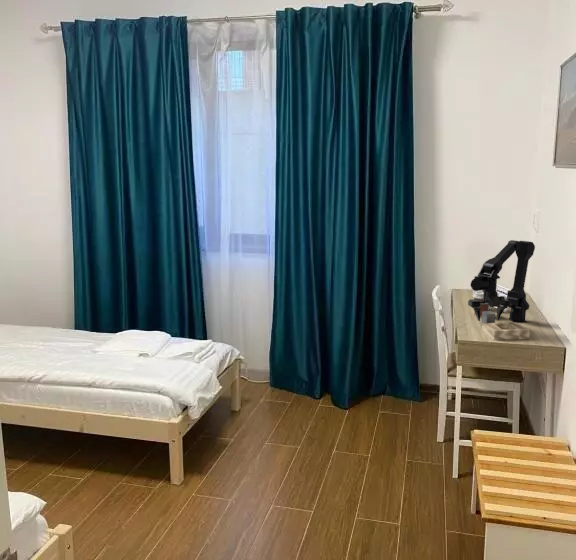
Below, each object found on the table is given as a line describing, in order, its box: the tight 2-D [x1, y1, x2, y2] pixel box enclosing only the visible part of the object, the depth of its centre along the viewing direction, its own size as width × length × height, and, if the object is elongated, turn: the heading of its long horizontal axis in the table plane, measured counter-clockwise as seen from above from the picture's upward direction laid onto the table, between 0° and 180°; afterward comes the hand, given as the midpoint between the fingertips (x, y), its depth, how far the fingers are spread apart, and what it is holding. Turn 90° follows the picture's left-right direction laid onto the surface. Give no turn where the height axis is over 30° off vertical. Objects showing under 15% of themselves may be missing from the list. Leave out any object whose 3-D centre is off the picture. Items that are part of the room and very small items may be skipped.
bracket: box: [481, 310, 496, 324], centre depth 290 cm, size 4×8×7 cm, turn 4°
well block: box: [481, 321, 531, 341], centre depth 276 cm, size 16×14×4 cm
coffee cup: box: [472, 292, 489, 318], centre depth 312 cm, size 9×9×12 cm
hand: (488, 320), depth 291 cm, fingers open, 9 cm apart
